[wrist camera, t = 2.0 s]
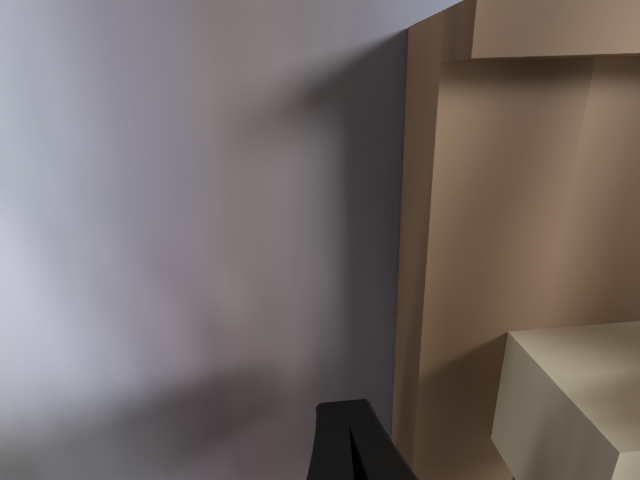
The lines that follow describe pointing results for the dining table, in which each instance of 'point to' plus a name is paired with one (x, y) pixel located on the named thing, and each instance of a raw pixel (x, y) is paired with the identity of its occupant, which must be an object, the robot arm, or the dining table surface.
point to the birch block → (570, 403)
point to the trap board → (509, 206)
